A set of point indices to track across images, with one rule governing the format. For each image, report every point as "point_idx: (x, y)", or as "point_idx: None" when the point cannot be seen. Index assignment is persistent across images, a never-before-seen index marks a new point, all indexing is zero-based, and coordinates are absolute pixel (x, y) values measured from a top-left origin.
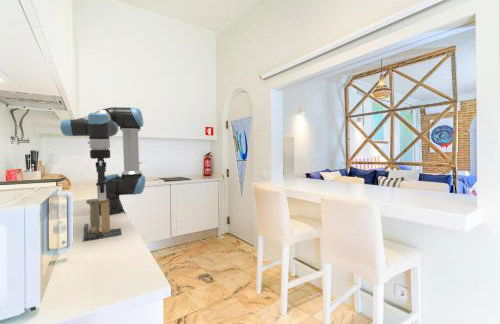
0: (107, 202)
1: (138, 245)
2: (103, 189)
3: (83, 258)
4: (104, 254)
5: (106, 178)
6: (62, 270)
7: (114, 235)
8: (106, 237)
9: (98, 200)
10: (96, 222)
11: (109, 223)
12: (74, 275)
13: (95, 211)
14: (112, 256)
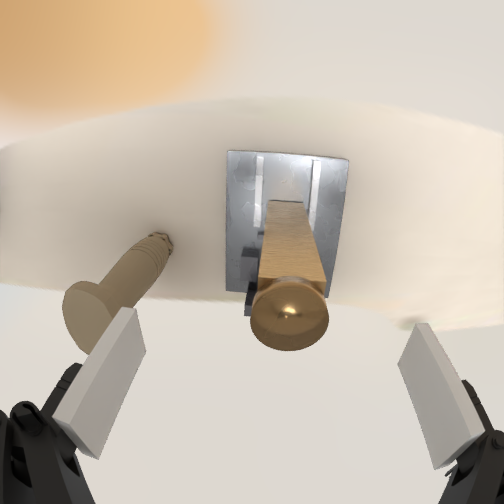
0: (324, 290)
1: (454, 130)
2: (478, 405)
3: (438, 285)
4: (453, 236)
5: (23, 417)
6: (462, 318)
7: (333, 189)
8: (338, 220)
9: (110, 312)
10: (161, 258)
11: (307, 220)
12: (497, 296)
13: (137, 288)
14: (478, 220)
